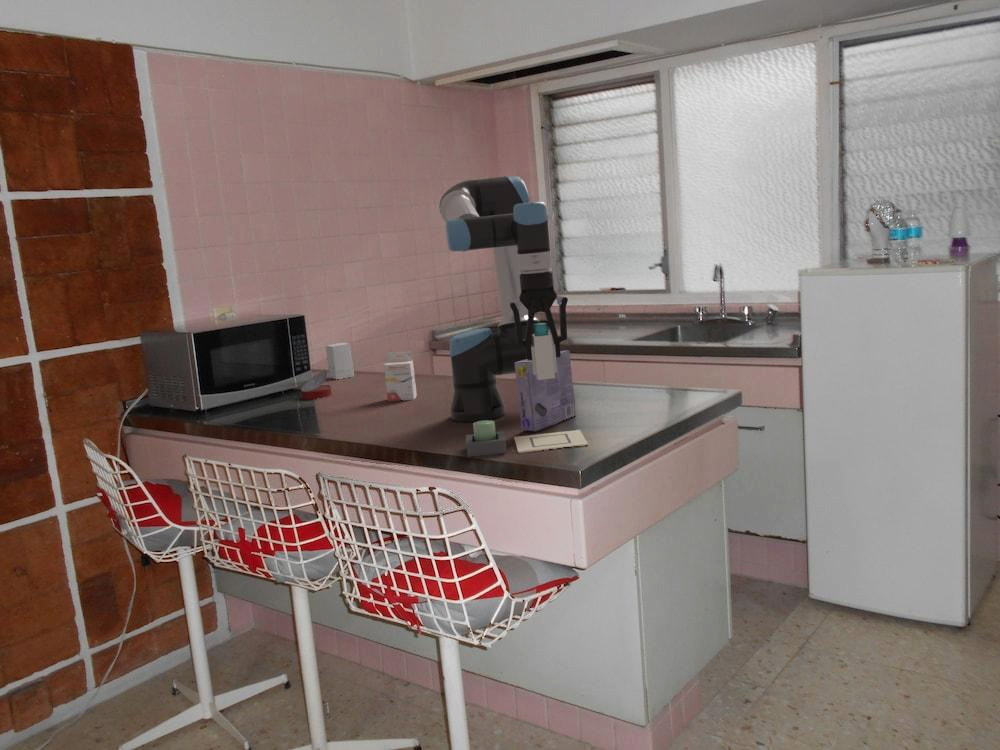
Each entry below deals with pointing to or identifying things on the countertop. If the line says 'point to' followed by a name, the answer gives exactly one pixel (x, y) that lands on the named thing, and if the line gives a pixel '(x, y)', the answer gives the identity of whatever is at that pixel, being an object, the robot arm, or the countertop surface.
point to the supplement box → (340, 360)
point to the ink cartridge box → (400, 377)
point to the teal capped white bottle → (543, 352)
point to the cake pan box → (545, 395)
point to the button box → (486, 445)
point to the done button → (484, 430)
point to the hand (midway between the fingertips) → (544, 372)
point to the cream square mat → (549, 441)
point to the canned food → (316, 387)
